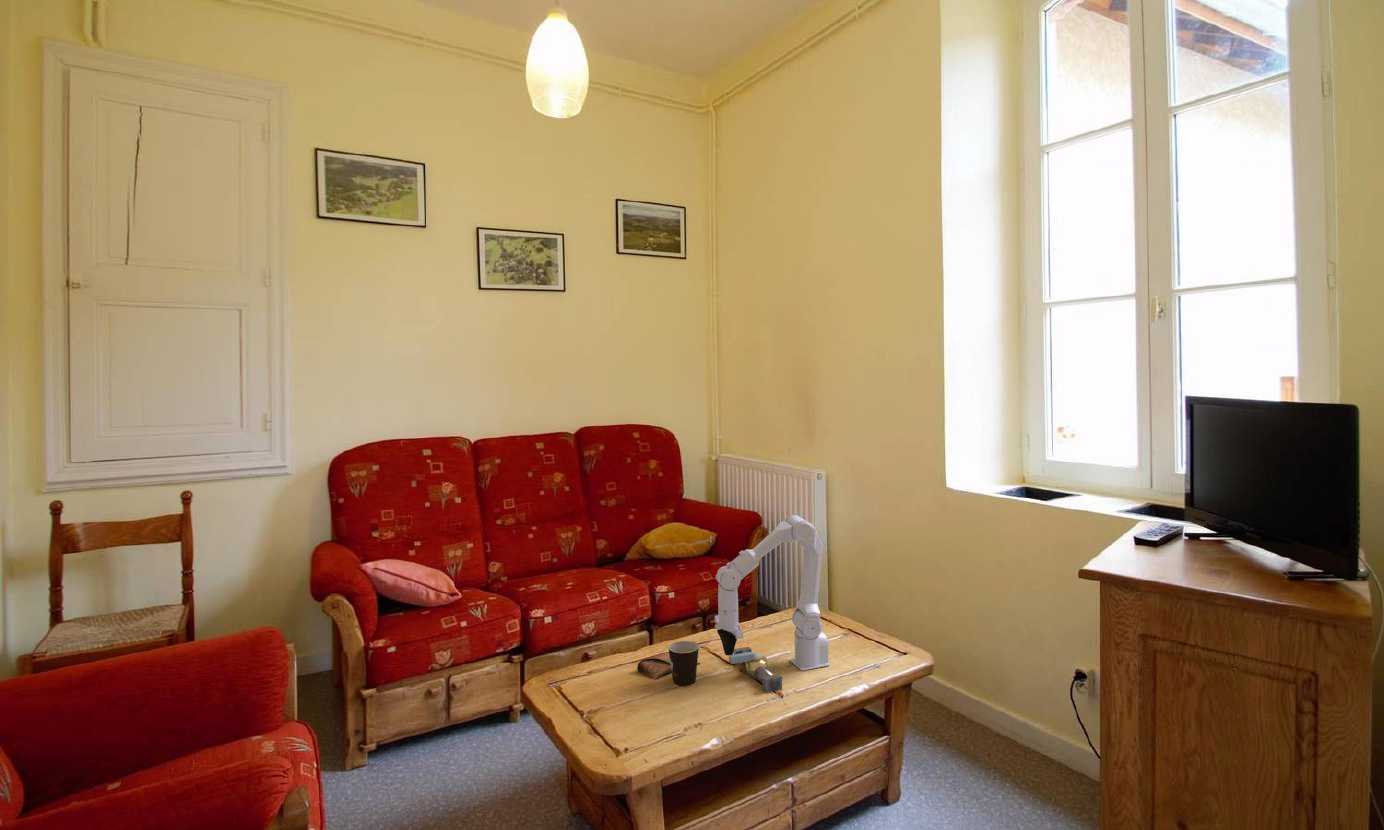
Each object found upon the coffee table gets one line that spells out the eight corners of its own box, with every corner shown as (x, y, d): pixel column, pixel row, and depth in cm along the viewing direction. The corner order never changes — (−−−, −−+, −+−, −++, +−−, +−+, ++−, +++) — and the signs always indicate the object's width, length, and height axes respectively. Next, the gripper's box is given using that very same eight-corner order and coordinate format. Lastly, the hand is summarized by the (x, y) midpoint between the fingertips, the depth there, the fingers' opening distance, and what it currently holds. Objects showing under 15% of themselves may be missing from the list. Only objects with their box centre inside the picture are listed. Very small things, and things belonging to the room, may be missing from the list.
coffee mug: (696, 689, 185) (695, 654, 184) (665, 687, 186) (665, 651, 186) (703, 671, 196) (703, 637, 196) (675, 669, 198) (674, 635, 197)
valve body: (732, 661, 203) (731, 646, 202) (750, 658, 205) (750, 643, 204) (763, 693, 182) (763, 677, 182) (783, 689, 184) (783, 673, 184)
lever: (759, 655, 195) (759, 649, 195) (763, 659, 192) (763, 653, 192) (728, 660, 192) (728, 654, 192) (732, 665, 189) (732, 658, 189)
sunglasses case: (654, 681, 190) (646, 657, 192) (642, 686, 195) (634, 663, 197) (702, 663, 202) (694, 641, 204) (689, 668, 206) (682, 646, 209)
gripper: (705, 603, 200) (705, 647, 201) (727, 618, 186) (727, 666, 187) (726, 599, 203) (727, 643, 203) (749, 614, 189) (750, 661, 190)
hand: (728, 654), depth 195 cm, fingers closed
